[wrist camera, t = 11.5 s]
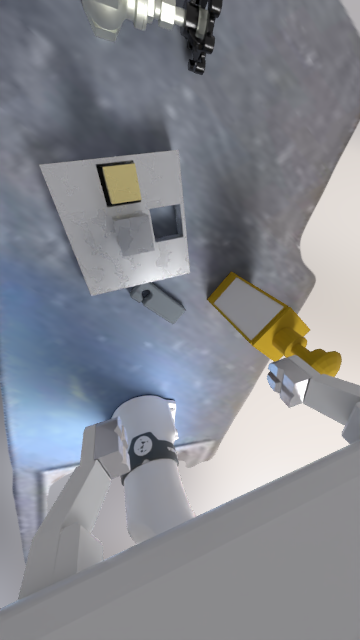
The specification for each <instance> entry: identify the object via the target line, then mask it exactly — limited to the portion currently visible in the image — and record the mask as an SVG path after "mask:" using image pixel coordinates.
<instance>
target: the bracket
mask: <svg viewBox="0 0 360 640" xmlns="http://www.w3.org/2000/svg"><path fill="white" fill-rule="evenodd" d="M144 290H150V293H149V295H147V296H146V297H145V298H144V299H143V295H142V291H144ZM130 296H131V298H133V299H135V300H136V301H138V302H139V303H140V302H141V301H142V303H143V305H144V306H145V307H147V308H148V309H150V310H152V311H153V312H155V313H156V314H158V315H159V316H161V317H162V318H164V319H165V320H167V321H169V322H170V323H172V324H174V323H175V322H176V321H177V320H178V319H179V318H180V316H181V315H182V314H183V313H184V312H185V311H186V310H185V308H184V307H183V306H182V305H181V304H179V303H178V302H177V301H175V300H174V299H173V298H171V297H170V296H169V295H167V294H166V293H165V292H163V291H162V290H161V289H159V288H158V287H157V286H155V285H154V284H152V283H151V282H149V283H145V284H141V285H136V286H135V287H134V288H133V289H132V291H131V292H130Z"/></svg>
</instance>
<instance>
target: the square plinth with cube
mask: <svg viewBox="0 0 360 640" xmlns="http://www.w3.org/2000/svg"><path fill="white" fill-rule="evenodd" d="M127 163H131V164H134V163H135V167H136V172H137V178H138V183H139V188H140V194H141V199H142V200H138V202H131V203H125V204H118V205H112V206H107V204H106V201H105V197H104V193H103V190H102V186H101V183H100V179H99V175H98V172H97V168H96V167H100V166H109V165H118V164H127ZM39 166H40V168H41V171H42V174H43V176H44V179H45V181H46V184H47V186H48V189H49V191H50V194H51V196H52V199H53V201H54V204H55V206H56V209H57V211H58V214H59V216H60V219H61V221H62V224H63V226H64V229H65V231H66V234H67V236H68V239H69V241H70V244H71V246H72V249H73V251H74V254H75V256H76V259H77V261H78V264H79V266H80V269H81V271H82V274H83V276H84V279H85V281H86V284H87V286H88V289H89V291H90V294H91V296H93V295H98V294H102V293H106V292H111V291H115V290H119V289H123V288H128V287H132V286H136V285H141V284H145V283H149V282H153V281H158V280H162V279H166V278H171V277H175V276H179V275H183V274H188V273H190V267H189V257H188V246H187V235H186V224H185V213H184V202H183V191H182V181H181V170H180V159H179V150H172V151H163V152H154V153H144V154H135V155H126V156H116V157H107V158H97V159H88V160H79V161H69V162H60V163H51V164H41V165H39ZM170 205H174V207H175V215H176V224H177V233H178V234H174V235H169V236H164V237H159V238H154V232H153V227H152V221H151V215H150V210H149V209H151V208H158V207H164V206H170Z"/></svg>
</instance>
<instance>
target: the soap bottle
mask: <svg viewBox="0 0 360 640" xmlns="http://www.w3.org/2000/svg"><path fill="white" fill-rule="evenodd" d="M207 300H208V301H209V302H210V303H211V304H212V305H213V306H214V307H215V308H216V309H217V310H218V311H219V312H220V313H221V314H222V315H223V316H224V317H225V318H226V319H227V320H228V321H229V322H230V323H231V324H232V325H233V326H234V328H235V329H236V330H237V331H238V332H239V333H240V334H241V335H242V336H243V337H244V338H245V339H246V340H247V341H248V342H249V343H250V344H252V346H253V347H255V348H256V349H258V350H259V351H260V352H262V353H263V354H264V355H266V356H267V357H269V358H270V359H271V360H273V361H274V362H275V361H278V360H279V359H280V358H281V357H282V356H283V355H284V356H285V357H286V358H287V357H290V356H293V355H296V356H298V357H300V358H301V359H302V360H303V361H305V362H306V363H307V364H308V365H310V366H311V367H312V368H313V369H315V370H316V371H317V372H319V373H320V374H326V375H329V376H332V377H335V375H336V374H337V372H338V371H339V369H340V365H341V362H342V361H341V360H342V359H341V355H340V353H338V352H336V351H332V352H325V351H324V350H322V349H316V350H314V351H311V352H310V351H309V350H307V349H306V348H305V347H306V345H307V340H306V339H305V338H304V336H305V335H306V334H307V333H308V332H309V331H310V329H309V328H308V327H307V326H306V324H305V323H304V322H303V321H302V320H301V319H300V318H299V316H298V315H297V314H296V313H295V312H294V311H293V310H292V308H291V307H288V306H287V305H286V304H284V303H282V302H281V301H279V300H277V299H276V298H274V297H273V296H271V295H269V294H268V293H266V292H264V291H263V290H261V289H259V288H258V287H256V286H254V285H253V284H251V283H250V282H248V281H246V280H245V279H243V278H241V277H240V276H238V275H236V274H235V273H233V272H230V274H229V275H228V276H227V277H226V278H225V279H224V280H223V282H222V283H221V284H220V285H219V286H218V287H217V289H216V290H215V291H214V292H213V293H212V294H211V296H210V297H209V298H208V299H207Z"/></svg>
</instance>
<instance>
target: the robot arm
mask: <svg viewBox="0 0 360 640" xmlns="http://www.w3.org/2000/svg"><path fill="white" fill-rule="evenodd" d="M268 369H269V370H270V372H269V373H268V376H267V380H268V383H269V385H270V387H271V388H272V389H273V390H274V391H275V392H278V393H280V398H281V399H282V400H283V401H284V403H285V404H286V405H287V406H288V407H289V408H290V407H293V406H295V405H298V404H301V403H304V404H305V405H307V406H309V407H311V408H313V409H315V410H317V411H318V412H320V413H322V414H324V415H326V416H328V417H330V418H332V419H333V420H335V421H337V422H339V423H341V424H343V425H345V427H344V429H343V431H342V436H343V438H345V440H346V441H347V442H349V444H350V445H348V446H346V447H344V448H342V449H340V450H338V451H336V452H333V453H331V454H329V455H327V456H325V457H323V458H321V459H319V460H316V461H314V462H312V463H310V464H308V465H306V466H304V467H301V468H299V469H297V470H295V471H293V472H291V473H289V474H286V475H285V476H282V477H280V478H278V479H276V480H274V481H272V482H269V483H267V484H265V485H263V486H261V487H259V488H257V489H254V490H252V491H251V492H248V493H246V494H244V495H242V496H240V497H237V498H235V499H233V500H231V501H229V502H227V503H225V504H222V505H220V506H218V507H216V508H214V509H212V510H210V511H208V512H205V513H203V514H201V515H199V516H197V517H196V515H195V513H194V512H193V510H192V508H191V506H190V503H189V501H188V498H187V495H186V492H185V489H184V487H183V483H182V480H181V477H180V473H179V470H178V456H177V453H176V451H175V447H174V441H175V440H177V439H178V433H177V429H176V428H175V424H174V422H175V412H176V402H175V401H174V400H165V399H162V398H160V397H158V396H151V395H148V396H140V397H136V398H133V399H131V400H129V401H127V402H125V403H123V404H122V405H121V406H119V407H118V408H117V409H116V411H115V412H114V414H113V416H112V418H111V419H109V420H106V421H103V422H100V423H97V424H94V425H91V426H88V427H85V430H84V434H83V443H82V451H81V460H80V466H78V467H76V469H75V470H74V472H73V474H72V475H71V477H70V479H69V480H68V482H67V483H66V485H65V487H64V488H63V490H62V492H61V493H60V495H59V497H58V498H57V500H56V501H55V503H54V505H53V507H52V508H51V510H50V511H49V513H48V514H47V516H46V518H45V519H44V521H43V523H42V524H41V526H40V528H39V529H38V531H37V532H36V534H35V536H34V537H33V539H32V542H31V546H30V551H29V555H28V559H27V563H26V568H25V572H24V577H23V581H22V585H21V589H20V594H19V598H18V600H17V601H16V602H13V603H11V604H9V605H7V606H5V607H3V608H0V640H360V386H359V385H356V384H353V383H350V382H347V381H344V380H341V379H338V378H335V377H332V376H329V375H326V374H320V373H319V372H317V371H316V370H315V369H313V368H312V367H311V366H310V365H308V364H307V363H306V362H305V361H303V360H302V359H301V358H300V357H298V356H296V355H293V356H290V357H287V358H284V359H281V360H278V361H275V362H273V363H270V364H269V368H268ZM118 476H120V477H121V482H122V485H123V486H124V493H125V507H126V520H127V529H128V533H129V535H130V537H131V538H132V540H133V541H134V542H135V543H136V544H137V545H135V546H133V547H131V548H128V549H127V550H125V551H122V552H120V553H118V554H116V555H114V556H112V557H109V558H107V559H105V560H103V544H102V543H101V542H100V541H99V540H98V539H97V538H96V537H94V536H93V535H92V534H91V533H92V530H93V528H94V525H95V523H96V520H97V517H98V515H99V512H100V510H101V507H102V505H103V502H104V500H105V497H106V495H107V492H108V489H109V487H110V484H111V482H112V480H111V479H113V478H116V477H118Z"/></svg>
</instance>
